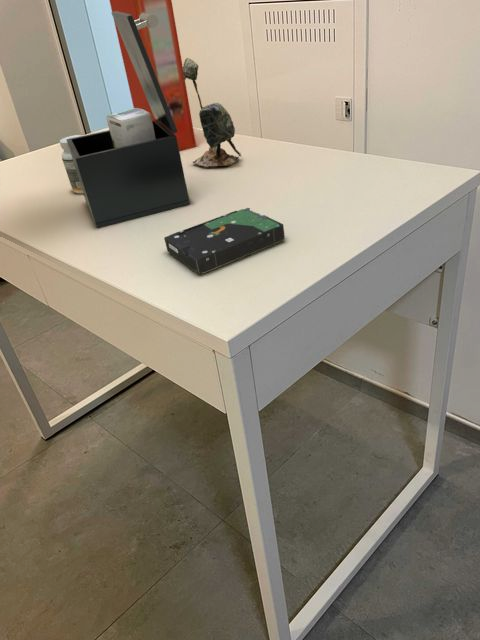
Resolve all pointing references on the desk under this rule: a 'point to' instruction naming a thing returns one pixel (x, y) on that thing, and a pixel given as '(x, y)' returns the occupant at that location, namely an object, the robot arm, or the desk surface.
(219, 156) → the plant with pod
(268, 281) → the desk surface
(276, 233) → the disk drive
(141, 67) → the bin lid
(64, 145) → the pill bottle
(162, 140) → the bin
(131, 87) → the file binder
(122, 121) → the syrup box
